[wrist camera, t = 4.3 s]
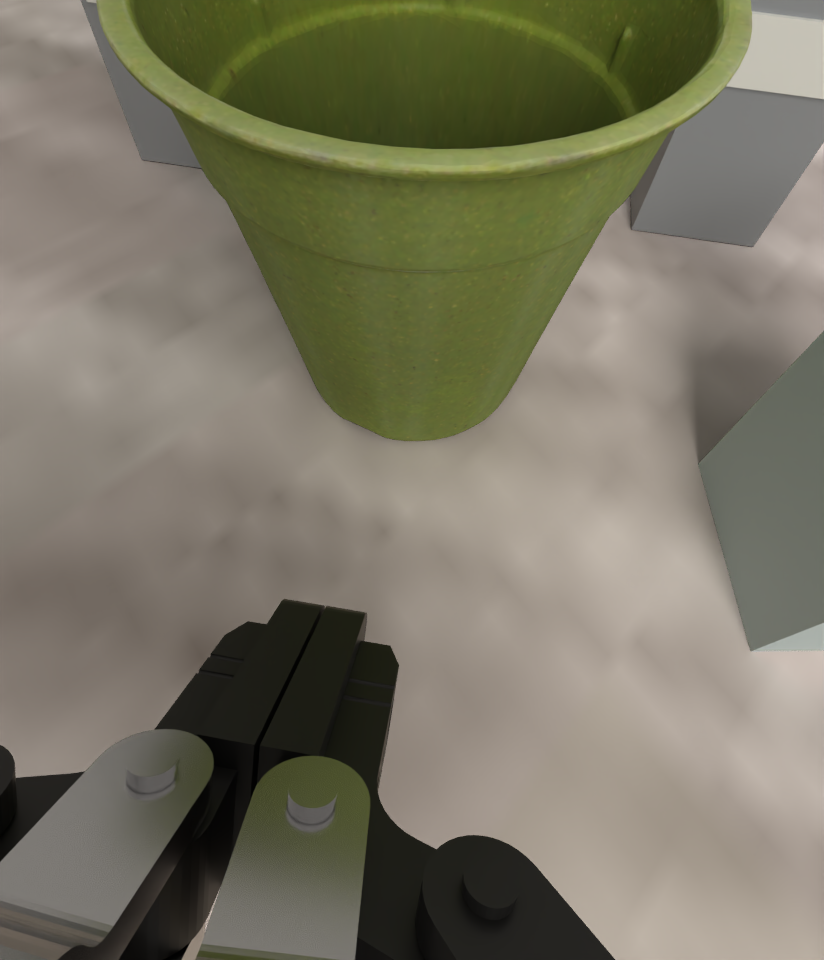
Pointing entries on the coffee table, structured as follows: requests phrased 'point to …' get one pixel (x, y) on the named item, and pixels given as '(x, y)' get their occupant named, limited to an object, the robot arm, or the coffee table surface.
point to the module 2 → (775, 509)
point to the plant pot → (425, 166)
